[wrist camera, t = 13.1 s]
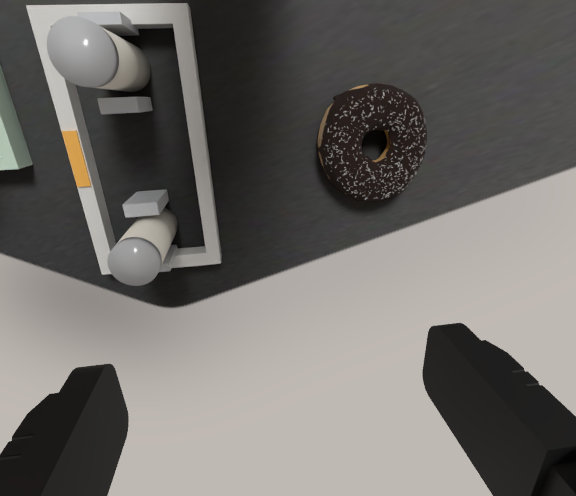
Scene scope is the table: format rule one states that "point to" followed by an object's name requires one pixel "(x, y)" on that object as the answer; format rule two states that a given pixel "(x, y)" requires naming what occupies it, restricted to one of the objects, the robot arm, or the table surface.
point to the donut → (356, 124)
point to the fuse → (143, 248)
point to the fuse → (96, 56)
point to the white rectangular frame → (74, 127)
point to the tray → (11, 133)
